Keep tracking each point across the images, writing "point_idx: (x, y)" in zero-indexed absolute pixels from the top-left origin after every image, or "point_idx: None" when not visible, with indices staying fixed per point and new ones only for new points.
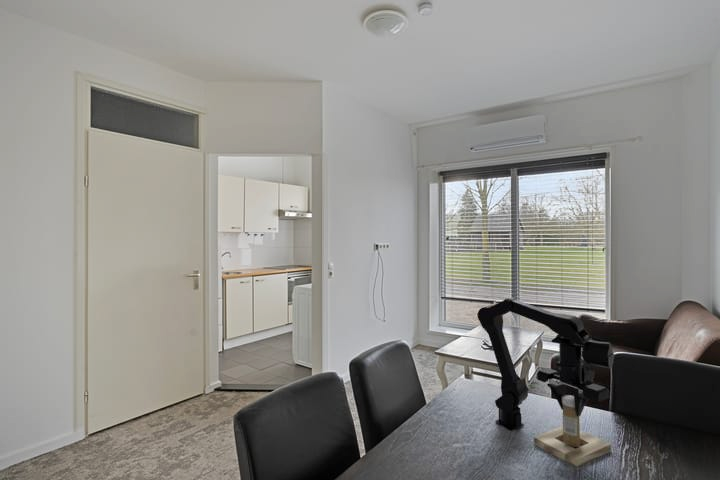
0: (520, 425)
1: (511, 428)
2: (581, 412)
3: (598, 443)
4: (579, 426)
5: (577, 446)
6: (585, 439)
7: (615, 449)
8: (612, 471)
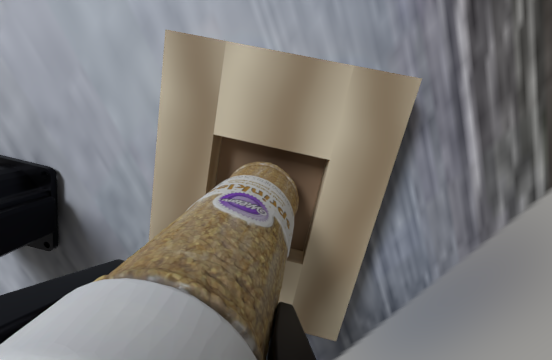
0: (50, 206)
1: (48, 242)
2: (302, 335)
3: (366, 127)
4: (290, 240)
5: (294, 215)
6: (302, 137)
7: (422, 42)
8: (446, 256)
